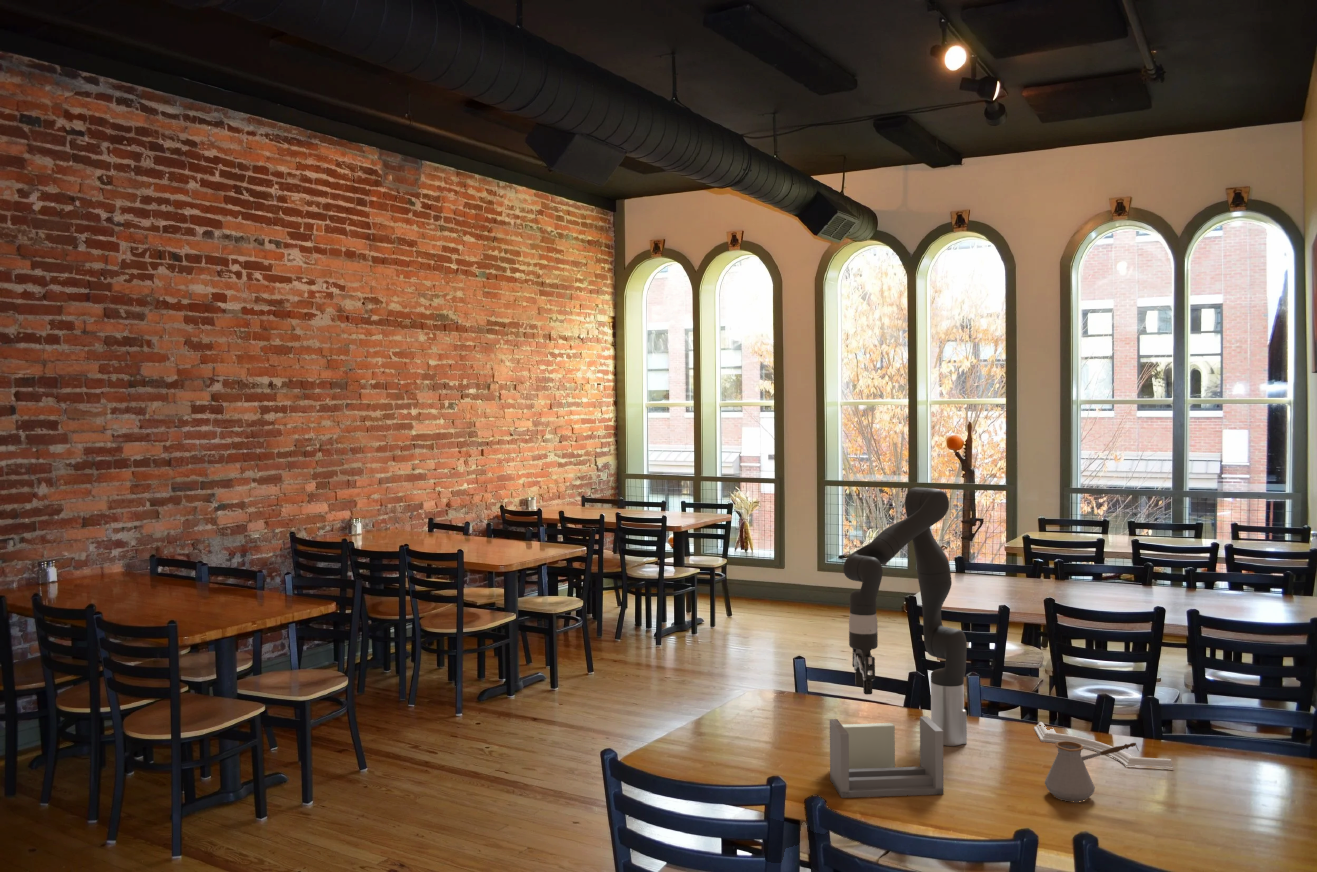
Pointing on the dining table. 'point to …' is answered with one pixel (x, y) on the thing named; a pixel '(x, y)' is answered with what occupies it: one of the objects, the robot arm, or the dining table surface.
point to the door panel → (871, 745)
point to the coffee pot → (1073, 772)
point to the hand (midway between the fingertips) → (863, 689)
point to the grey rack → (888, 779)
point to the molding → (1099, 748)
